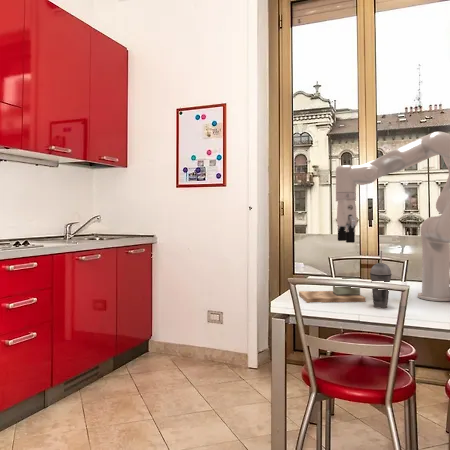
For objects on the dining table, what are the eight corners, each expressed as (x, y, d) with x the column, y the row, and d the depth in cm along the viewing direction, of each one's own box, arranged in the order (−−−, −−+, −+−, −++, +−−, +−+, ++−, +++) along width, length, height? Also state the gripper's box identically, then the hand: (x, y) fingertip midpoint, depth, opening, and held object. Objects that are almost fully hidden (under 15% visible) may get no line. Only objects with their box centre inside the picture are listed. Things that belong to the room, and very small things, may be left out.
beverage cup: (389, 304, 152) (390, 249, 151) (393, 309, 145) (393, 251, 144) (368, 303, 154) (368, 249, 153) (370, 308, 147) (371, 251, 146)
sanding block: (355, 292, 167) (355, 277, 167) (359, 295, 162) (360, 279, 162) (332, 293, 166) (333, 278, 166) (336, 295, 161) (336, 280, 161)
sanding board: (352, 294, 171) (352, 290, 171) (365, 301, 157) (365, 297, 157) (299, 295, 170) (299, 291, 170) (307, 302, 156) (307, 298, 156)
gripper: (363, 196, 154) (363, 243, 155) (347, 198, 171) (347, 239, 172) (343, 196, 154) (343, 243, 154) (329, 198, 171) (329, 240, 172)
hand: (345, 241), depth 163 cm, fingers open, 9 cm apart
